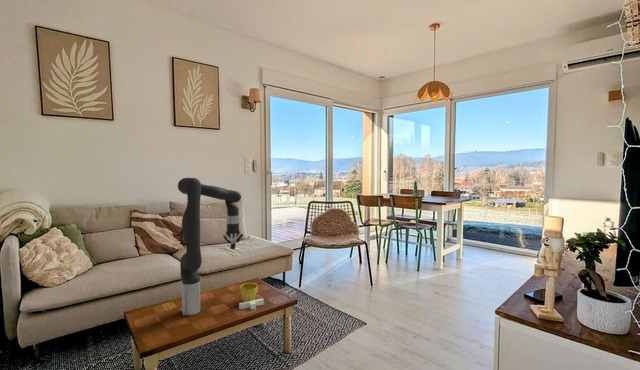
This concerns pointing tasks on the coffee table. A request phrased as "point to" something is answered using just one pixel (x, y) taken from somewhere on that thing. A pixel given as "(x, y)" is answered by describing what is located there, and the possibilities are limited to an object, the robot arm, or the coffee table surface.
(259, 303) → the t stop
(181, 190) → the robot arm
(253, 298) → the plant pot
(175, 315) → the coffee table surface
